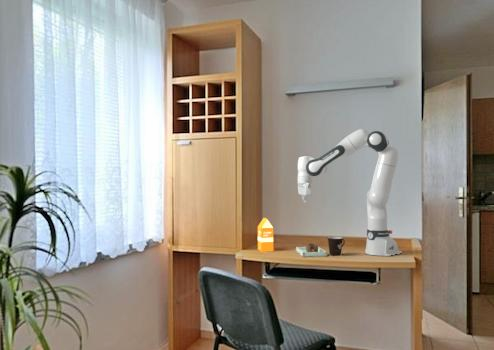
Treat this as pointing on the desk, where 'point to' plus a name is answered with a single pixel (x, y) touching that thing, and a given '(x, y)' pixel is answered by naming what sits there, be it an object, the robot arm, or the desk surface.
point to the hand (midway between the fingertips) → (304, 202)
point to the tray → (311, 254)
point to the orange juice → (265, 236)
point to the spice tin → (311, 247)
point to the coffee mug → (335, 245)
